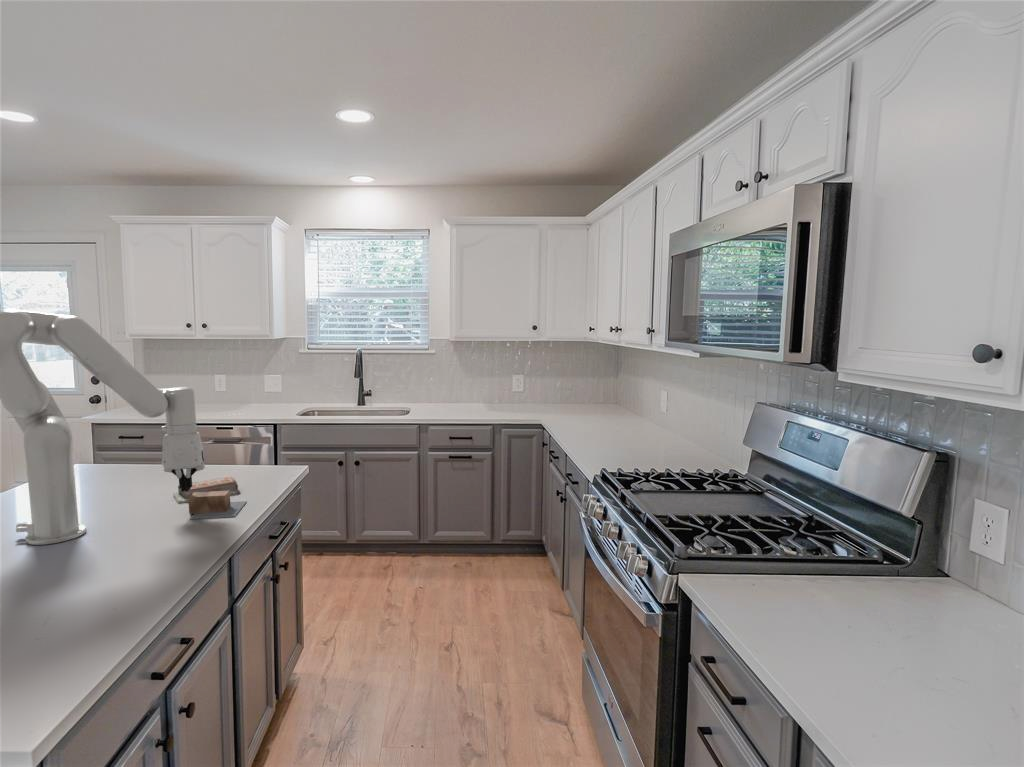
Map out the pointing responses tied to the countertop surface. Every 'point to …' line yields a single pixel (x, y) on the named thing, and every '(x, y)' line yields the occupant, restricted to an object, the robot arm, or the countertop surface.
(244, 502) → the rubber mat
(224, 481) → the packaged product
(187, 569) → the countertop surface
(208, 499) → the walnut block
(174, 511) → the countertop surface
